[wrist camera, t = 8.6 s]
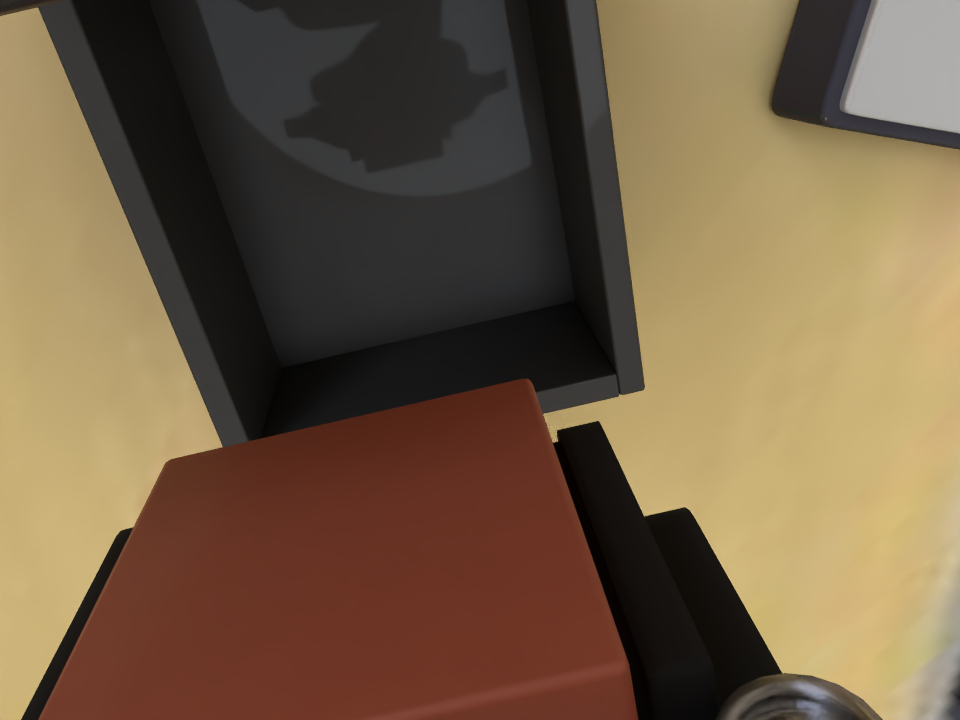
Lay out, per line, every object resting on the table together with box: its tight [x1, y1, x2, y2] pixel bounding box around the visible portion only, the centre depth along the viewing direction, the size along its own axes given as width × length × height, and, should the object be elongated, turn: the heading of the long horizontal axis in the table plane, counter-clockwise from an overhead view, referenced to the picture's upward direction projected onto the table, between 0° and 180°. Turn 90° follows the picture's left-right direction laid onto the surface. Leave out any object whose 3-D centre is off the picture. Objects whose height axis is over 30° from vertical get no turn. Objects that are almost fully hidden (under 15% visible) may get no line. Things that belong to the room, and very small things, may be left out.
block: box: [38, 379, 638, 720], centre depth 8 cm, size 4×4×4 cm
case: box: [38, 0, 645, 447], centre depth 23 cm, size 16×13×7 cm
